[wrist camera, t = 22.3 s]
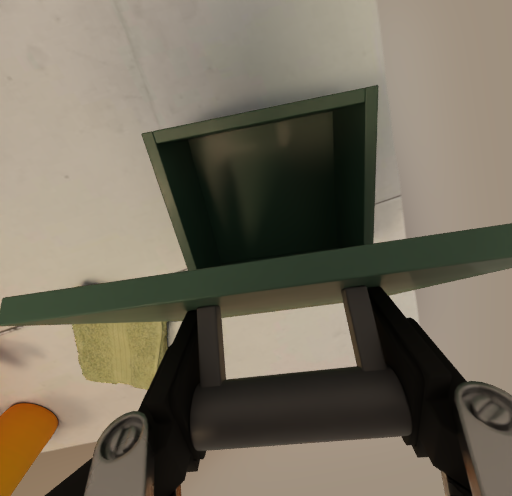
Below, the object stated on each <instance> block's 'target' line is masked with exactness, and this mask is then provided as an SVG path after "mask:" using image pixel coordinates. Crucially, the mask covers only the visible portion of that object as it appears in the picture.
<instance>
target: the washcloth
mask: <svg viewBox="0 0 512 496" xmlns="http://www.w3.org/2000/svg"><path fill="white" fill-rule="evenodd" d="M78 287H80V286H78ZM166 323H167V321H164V322H130V323H96V324H72V326H73V327H72V329H73V330H74V334H75V335H74V336H75V339H76V341H75V342H76V346H77V349H78V351H77V352H78V353H79V355H78V359H79V360H78V361H79V364H80V365H81V369H82V372H83V373H82V374H83V376H85V378H86V379H87V380H90V381H95V382H101V383H104V382H106V383H112V384H117V383H124V384H129V385H133V386H134V387H135V388H141V389H146V390H148V389H149V387H150V384H151V382H152V380H153V378H154V376H155V374H156V372H157V369H158V367H159V365H160V363H161V361H162V359H163V357H164V355H165V352H166V350H167V349H168V347H167V340H166V339H167V337H166V335H167V331H166V329H167V328H166V327H167V326H166Z"/></svg>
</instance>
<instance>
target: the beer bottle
mask: <svg viewBox="0 0 512 496" xmlns="http://www.w3.org/2000/svg"><path fill="white" fill-rule="evenodd" d="M57 425H58V420H57V418H56V416H55V415H54V414H53V413H52V412H51V411H49V410H48V409H46V408H44V407H41V406H39V405H35V404H30V403H20V404H16V405H13V406H12V407H10V408H9V409H8V410H6V411H5V412H4V413H3V414H2V415H1V416H0V496H11V494H12V493H13V491H14V490H15V488H16V487H17V485H18V484H19V482H20V481H21V480H22V478H23V477H24V475H25V474H26V472H27V471H28V469H29V468H30V466H31V465H32V463H33V462H34V461H35V459H36V458H37V456H38V455H39V453H40V452H41V451H42V449H43V448H44V446H45V445H46V444H47V442H48V441H49V440H50V438H51V437H52V435H53V434H54V432H55V430H56V428H57Z"/></svg>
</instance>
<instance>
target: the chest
mask: <svg viewBox="0 0 512 496" xmlns="http://www.w3.org/2000/svg"><path fill="white" fill-rule="evenodd" d="M377 112H378V85H376V86H371V87H366V88H361V89H356V90H352V91H347V92H342V93H337V94H332V95H327V96H322V97H317V98H313V99H308V100H303V101H298V102H293V103H288V104H283V105H278V106H274V107H269V108H264V109H259V110H254V111H249V112H244V113H240V114H235V115H230V116H225V117H220V118H215V119H210V120H205V121H201V122H196V123H191V124H186V125H181V126H176V127H171V128H166V129H162V130H157V131H153V132H147V133H142V137H143V140H144V143H145V146H146V149H147V152H148V155H149V158H150V161H151V163H152V166H153V169H154V172H155V175H156V178H157V181H158V184H159V187H160V190H161V192H162V195H163V198H164V201H165V204H166V207H167V210H168V213H169V216H170V219H171V222H172V224H173V227H174V230H175V233H176V236H177V239H178V242H179V245H180V248H181V251H182V253H183V256H184V259H185V262H186V265H187V268H188V271H190V270H197V269H203V268H210V267H217V266H224V265H231V264H238V263H244V262H251V261H258V260H265V259H272V258H279V257H285V256H292V255H299V254H306V253H313V252H320V251H326V250H333V249H340V248H347V247H354V246H361V245H367V244H373V237H374V206H375V175H376V143H377Z"/></svg>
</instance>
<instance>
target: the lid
mask: <svg viewBox="0 0 512 496" xmlns="http://www.w3.org/2000/svg"><path fill="white" fill-rule="evenodd" d="M509 268H512V223H511V224H504V225H498V226H491V227H484V228H477V229H470V230H464V231H456V232H450V233H443V234H436V235H429V236H422V237H415V238H408V239H402V240H395V241H388V242H381V243H374V244H367V245H361V246H354V247H347V248H340V249H333V250H326V251H320V252H313V253H306V254H299V255H292V256H285V257H279V258H272V259H265V260H258V261H251V262H244V263H238V264H231V265H224V266H217V267H210V268H203V269H197V270H190V271H183V272H176V273H169V274H162V275H156V276H149V277H142V278H135V279H128V280H121V281H115V282H108V283H101V284H94V285H87V286H80V287H74V288H67V289H60V290H53V291H46V292H39V293H33V294H26V295H19V296H12V297H5V298H3V299H2V303H1V309H0V326H27V325H61V324H96V323H130V322H164V321H183V319H184V317H185V315H186V313H187V312H188V311H195V310H197V325H198V347H199V369H200V383H199V384H198V385H197V387H196V389H195V391H194V394H193V397H192V402H191V409H190V436H191V441H192V444H193V446H194V448H195V449H196V450H197V451H207V450H220V449H234V448H248V447H260V446H275V445H288V444H302V443H315V442H329V441H342V440H355V439H356V440H357V439H370V438H384V437H396V436H397V437H398V436H408V435H410V434H411V432H412V417H411V412H410V407H409V404H408V401H407V397H406V395H405V392H404V390H403V387H402V385H401V383H400V381H399V379H398V377H397V375H396V374H395V372H394V371H393V369H392V368H391V367H390V366H389V365H387V364H386V363H385V359H384V355H383V351H382V347H381V343H380V339H379V335H378V331H377V327H376V323H375V319H374V315H373V311H372V307H371V303H370V299H369V295H368V291H367V288H372V287H381V288H382V289H383V290H384V291H385V292H386V294H387V295H388V296H389V295H394V294H398V293H402V292H407V291H411V290H416V289H420V288H425V287H429V286H433V285H438V284H442V283H447V282H451V281H455V280H460V279H464V278H469V277H473V276H478V275H482V274H487V273H491V272H496V271H500V270H505V269H509ZM337 303H344V308H345V312H346V317H347V322H348V326H349V331H350V335H351V340H352V345H353V349H354V354H355V359H356V363H357V366H356V367H347V368H337V369H327V370H317V371H307V372H297V373H287V374H277V375H267V376H257V377H247V378H238V379H228V380H226V374H225V361H224V347H223V333H222V320H221V318H225V317H233V316H241V315H249V314H257V313H265V312H273V311H281V310H289V309H297V308H305V307H313V306H321V305H329V304H337Z"/></svg>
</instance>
